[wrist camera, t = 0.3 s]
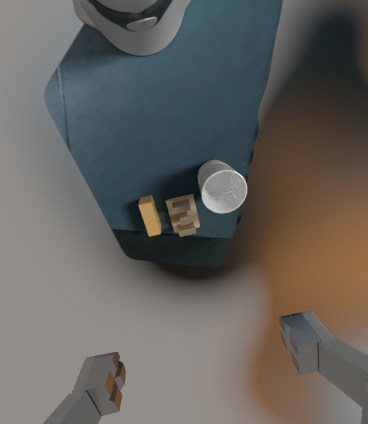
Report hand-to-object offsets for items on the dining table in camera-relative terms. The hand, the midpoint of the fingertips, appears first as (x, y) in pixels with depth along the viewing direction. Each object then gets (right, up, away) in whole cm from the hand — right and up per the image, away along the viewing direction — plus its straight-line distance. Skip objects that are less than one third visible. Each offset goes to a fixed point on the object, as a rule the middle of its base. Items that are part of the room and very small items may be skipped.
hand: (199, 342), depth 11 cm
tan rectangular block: (-8, +7, +39) cm, 40 cm away
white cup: (+5, +14, +36) cm, 39 cm away
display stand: (-1, +6, +39) cm, 40 cm away
